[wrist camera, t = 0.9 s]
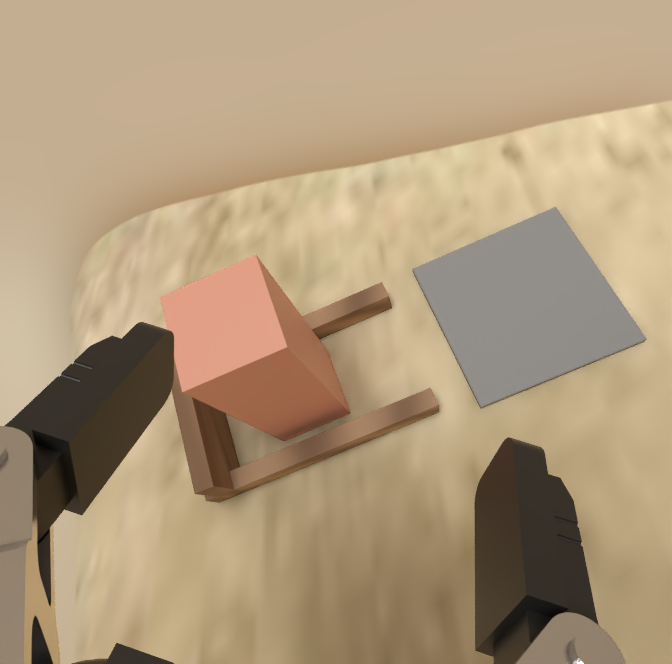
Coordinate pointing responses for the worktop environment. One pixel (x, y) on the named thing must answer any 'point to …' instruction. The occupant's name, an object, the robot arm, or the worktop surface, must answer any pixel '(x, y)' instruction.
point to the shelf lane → (230, 479)
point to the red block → (252, 352)
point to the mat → (525, 307)
